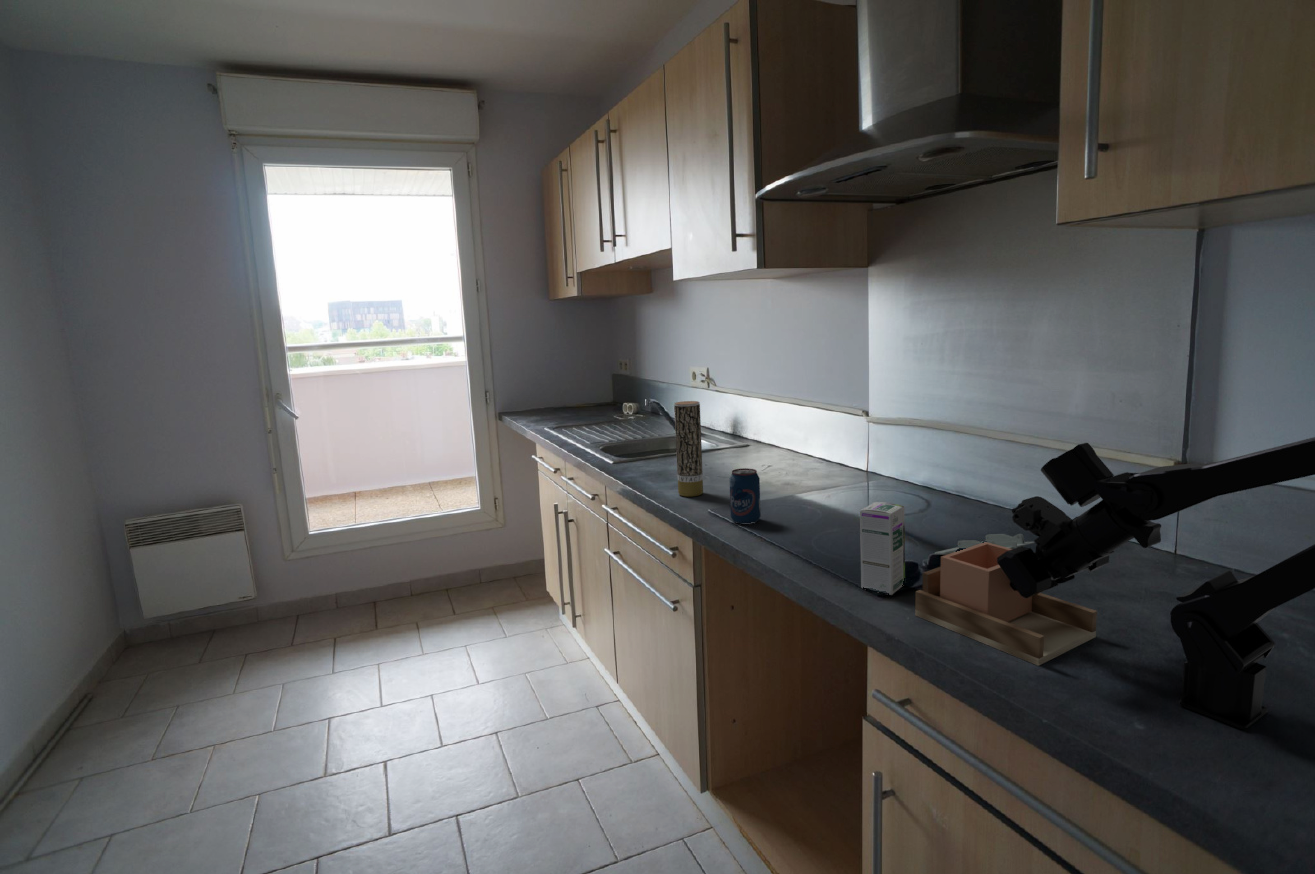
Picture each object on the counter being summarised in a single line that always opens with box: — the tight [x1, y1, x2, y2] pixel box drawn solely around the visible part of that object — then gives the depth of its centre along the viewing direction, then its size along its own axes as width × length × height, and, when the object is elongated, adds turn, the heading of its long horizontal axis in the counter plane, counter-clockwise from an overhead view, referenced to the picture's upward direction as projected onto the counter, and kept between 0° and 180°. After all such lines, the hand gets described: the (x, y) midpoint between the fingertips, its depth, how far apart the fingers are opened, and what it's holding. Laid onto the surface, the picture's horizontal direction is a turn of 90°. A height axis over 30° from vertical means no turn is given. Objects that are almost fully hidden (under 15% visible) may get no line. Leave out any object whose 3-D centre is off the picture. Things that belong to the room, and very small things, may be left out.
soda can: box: [729, 468, 761, 523], centre depth 165 cm, size 7×7×12 cm
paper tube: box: [673, 400, 704, 498], centre depth 190 cm, size 7×7×25 cm
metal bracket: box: [934, 533, 1036, 555], centre depth 136 cm, size 14×6×15 cm
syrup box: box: [859, 501, 906, 596], centre depth 122 cm, size 6×6×14 cm
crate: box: [940, 542, 1032, 622], centre depth 108 cm, size 8×11×9 cm
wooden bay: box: [914, 566, 1098, 666], centre depth 106 cm, size 20×14×7 cm
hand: (1012, 587), depth 104 cm, fingers closed
